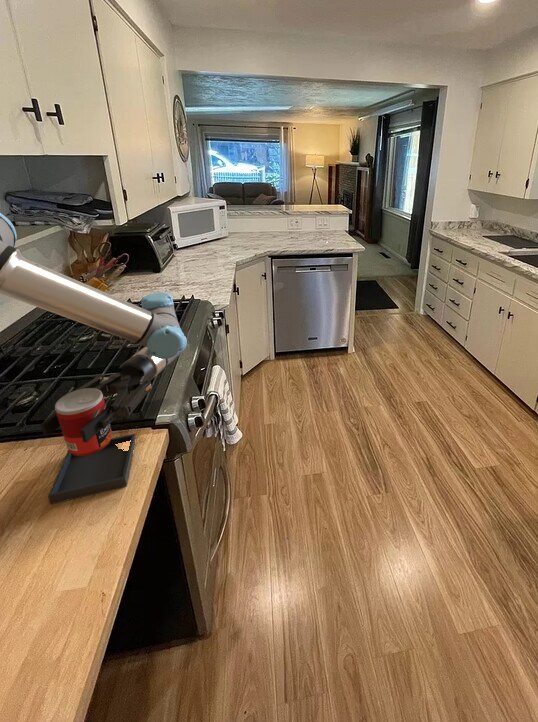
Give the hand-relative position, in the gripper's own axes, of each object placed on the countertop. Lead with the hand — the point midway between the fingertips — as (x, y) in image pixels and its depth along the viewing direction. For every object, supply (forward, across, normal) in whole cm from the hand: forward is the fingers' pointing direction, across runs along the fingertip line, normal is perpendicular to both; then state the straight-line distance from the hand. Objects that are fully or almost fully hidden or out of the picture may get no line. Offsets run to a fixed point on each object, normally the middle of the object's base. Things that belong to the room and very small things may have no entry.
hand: (63, 433), depth 67 cm
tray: (-5, 0, -14) cm, 15 cm away
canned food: (-5, 0, -7) cm, 8 cm away
